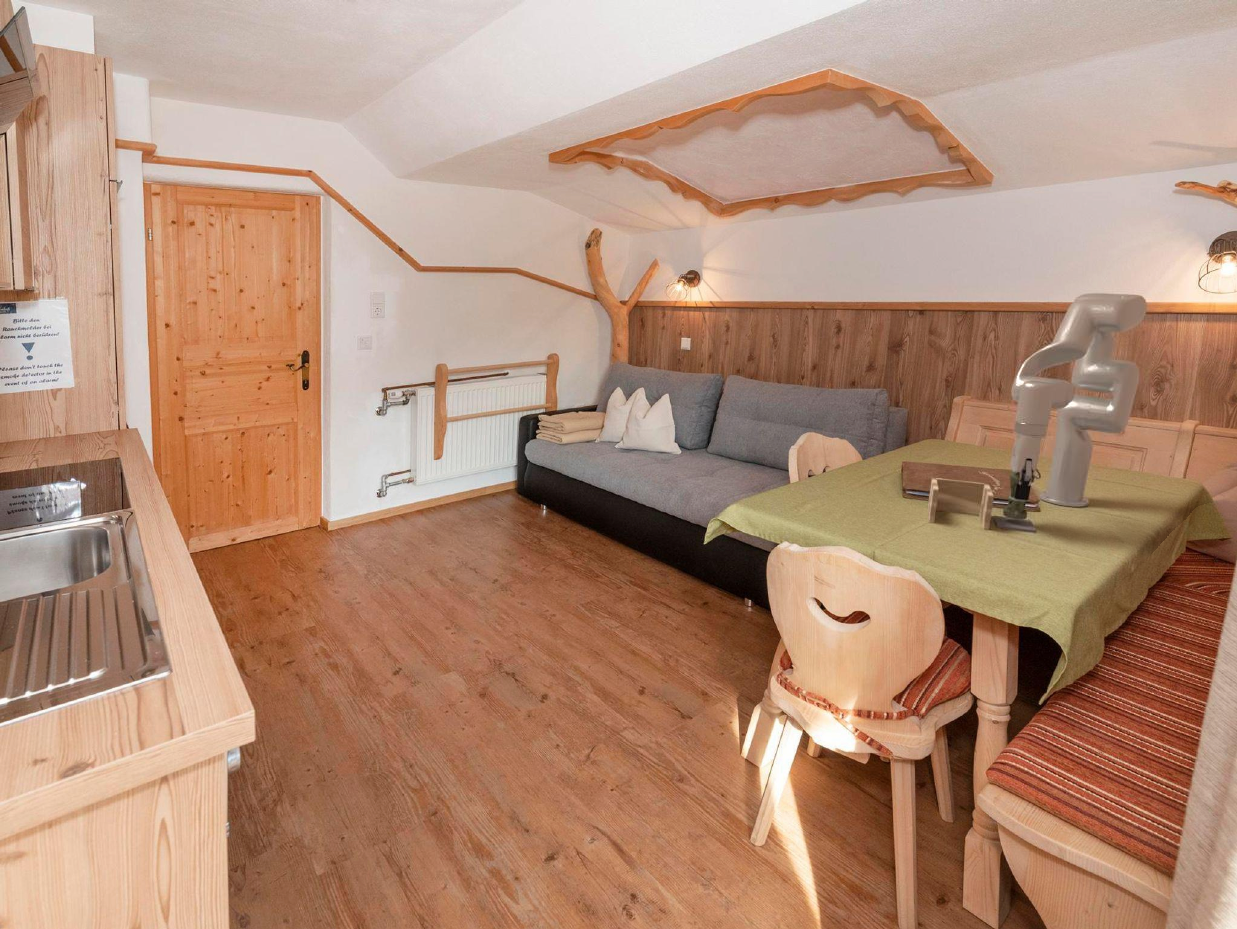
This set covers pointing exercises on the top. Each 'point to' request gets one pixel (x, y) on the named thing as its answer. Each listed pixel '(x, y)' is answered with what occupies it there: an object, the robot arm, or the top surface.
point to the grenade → (1015, 505)
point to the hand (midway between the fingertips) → (1019, 495)
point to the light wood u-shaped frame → (961, 499)
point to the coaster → (1014, 524)
